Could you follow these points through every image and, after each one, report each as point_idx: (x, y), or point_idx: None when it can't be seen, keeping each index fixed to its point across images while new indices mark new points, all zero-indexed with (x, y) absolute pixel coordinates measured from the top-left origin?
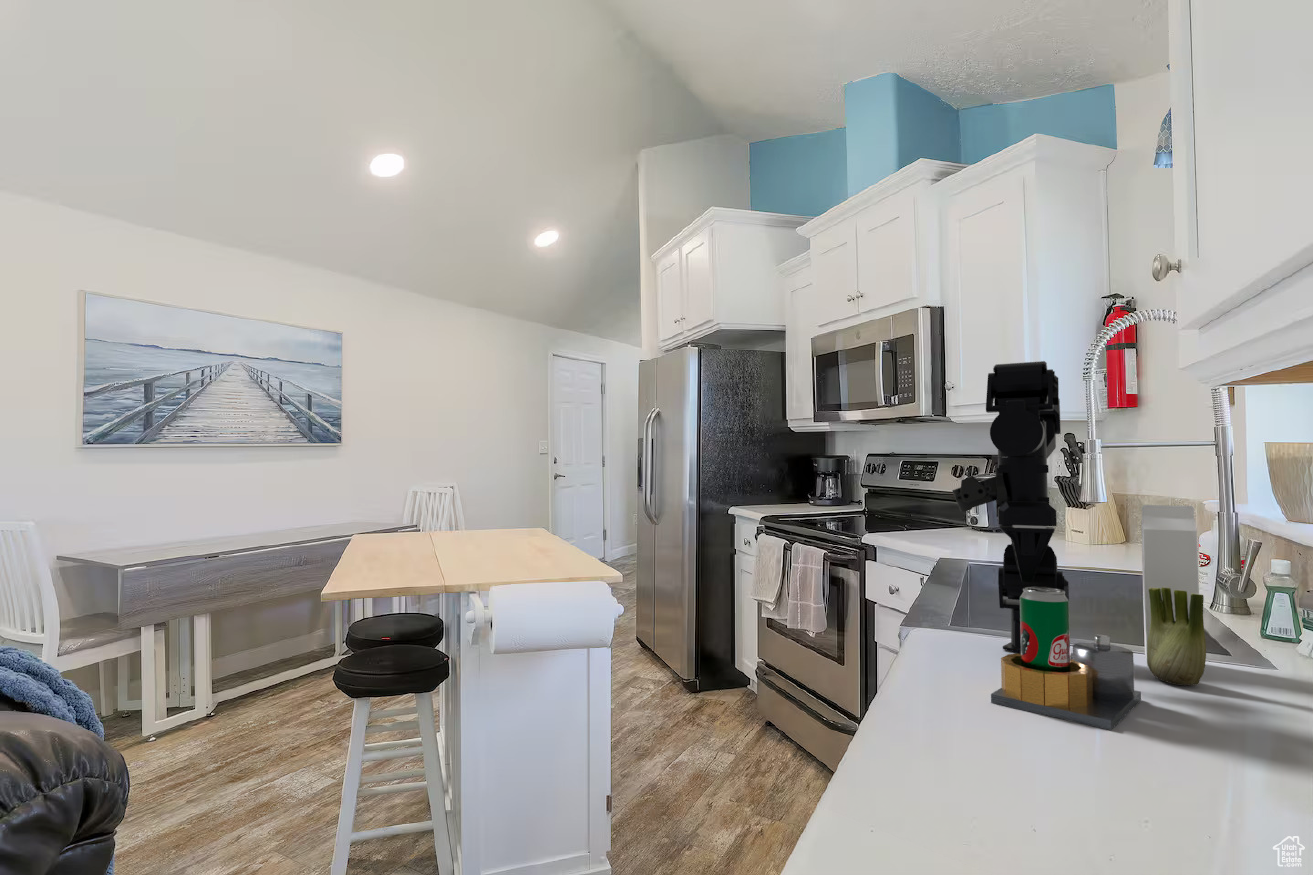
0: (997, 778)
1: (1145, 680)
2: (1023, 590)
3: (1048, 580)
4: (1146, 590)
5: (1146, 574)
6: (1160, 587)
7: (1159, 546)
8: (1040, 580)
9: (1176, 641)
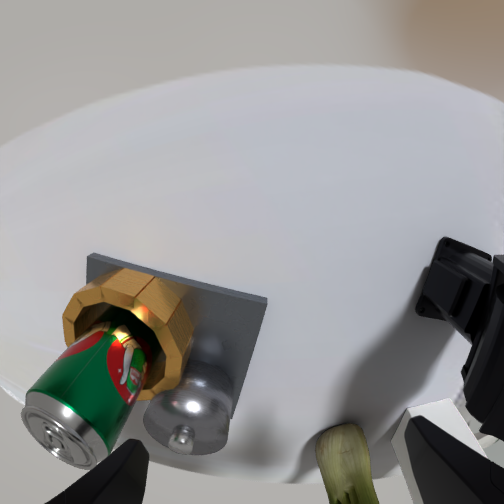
0: None
1: (336, 414)
2: (30, 406)
3: (480, 406)
4: None
5: None
6: None
7: None
8: (486, 391)
9: (330, 477)
